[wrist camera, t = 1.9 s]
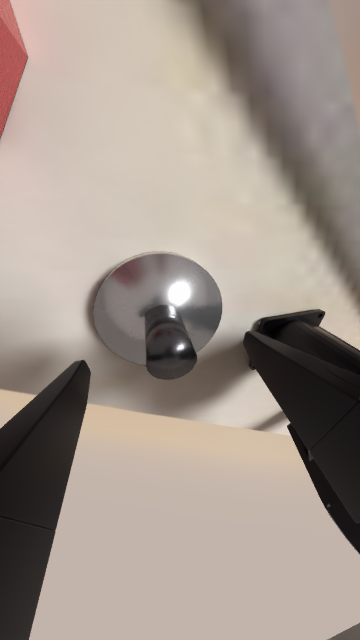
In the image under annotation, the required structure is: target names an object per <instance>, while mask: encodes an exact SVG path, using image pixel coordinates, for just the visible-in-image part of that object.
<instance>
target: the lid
mask: <svg viewBox="0 0 360 640" xmlns="http://www.w3.org/2000/svg"><path fill="white" fill-rule="evenodd" d="M221 315H222V298H221V294H220V291H219V288H218V286H217V284H216V282H215V281H214V279H213V278H212V277H211V275H210V274H209V273H208V272H207V271H206V270H205V269H204V268H202V267H201V266H200V265H199V264H197V263H196V262H194V261H193V260H191V259H190V258H187V257H185V256H183V255H180V254H176V253H172V252H164V251H155V252H147V253H143V254H139V255H136V256H133V257H131V258H129V259H127V260H125V261H124V262H122V263H121V264H119V265H118V266H117V267H116V268H115V269H113V270H112V271H111V272H110V274H109V275H108V276H107V277H106V279H105V280H104V282H103V284H102V285H101V287H100V289H99V291H98V293H97V296H96V298H95V303H94V308H93V317H94V324H95V327H96V330H97V332H98V334H99V336H100V338H101V340H102V341H103V342H104V344H105V345H106V346H107V347H108V348H109V349H110V350H111V351H112V352H114V353H115V354H116V355H118V356H120V357H121V358H123V359H125V360H128V361H130V362H133V363H137V364H142V365H146V367H147V370H148V372H149V373H150V374H151V375H152V376H154V377H156V378H159V379H165V380H169V379H175V378H179V377H181V376H183V375H185V374H187V373H188V372H189V371H190V370H191V369H192V368H193V367H194V365H195V364H196V361H197V355H196V352H198V351H199V350H200V349H202V348H203V347H204V346H205V345H206V344H207V343H208V342H209V340H210V339H211V338H212V337H213V335H214V333H215V332H216V330H217V328H218V326H219V323H220V320H221Z"/></svg>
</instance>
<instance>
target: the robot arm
mask: <svg viewBox="0 0 360 640" xmlns="http://www.w3.org/2000/svg"><path fill="white" fill-rule="evenodd" d="M324 315H325V312H324V311H322V310H320V309H317V310H311V311H305V312H299V313H293V314H287V315H281V316H275V317H268V318H264V319H263V320H262V321H261V323H260V326H259V329H258V333H257V332H255V331H247V332H246V333H245V337H244V341H243V344H244V347H245V349H246V351H247V353H248V355H249V357H250V362H249V367H250V368H251V369H252V370H255V369H256V370H257V372H258V373H259V375H260V376H261V378H262V379H263V381H264V382H265V384H266V385H267V387H268V389H269V390H270V392H271V393H272V395H273V396H274V398H275V399H276V401H277V402H278V404H279V406H280V407H281V409H282V410H283V412H284V413H285V415H286V416H287V418H288V419H289V421H290V424H289V425H287V428H288V430H289V432H290V434H291V436H292V438H293V441H294V443H295V445H296V447H297V449H298V451H299V453H300V456H301V458H302V460H303V462H304V464H305V466H306V469H307V471H308V473H309V475H310V477H311V479H312V482H313V484H314V486H315V488H316V490H317V492H318V495H319V497H320V499H321V501H322V502H323V504H324V506H325V508H326V510H327V511H328V513H329V515H330V517H331V518H332V519H333V521H334V522H335V523H336V525H337V526H338V528H339V529H340V531H341V532H342V533H343V535H344V536H345V538H346V539H347V540H348V541H349V542H350V543H351V545H352V546H353V547H354V548H355V549H356V550H357V552H358V553H359V554H360V350H358V349H356V348H355V347H353V346H351V345H350V344H348V343H346V342H345V341H343V340H341V339H340V338H338V337H336V336H335V335H333V334H331V333H330V332H328V331H326V330H325V329H323V328H321V327H320V326H319V325H320V323H321V321H322V319H323V317H324ZM90 377H91V372H90V369H89V367H88V365H87V363H86V362H85V361H84V360H80V361H75V362H74V363H73V364H71V365H70V366H69V367H68V368H67V369H66V370H65V371H64V372H63V373H62V374H60V375H59V376H58V377H57V378H56V379H55V380H54V381H53V382H52V383H50V384H49V385H48V386H47V387H46V388H45V389H44V390H43V391H42V392H40V393H39V394H38V395H37V396H36V397H35V398H34V399H33V400H32V401H30V402H29V403H28V404H27V405H26V406H25V407H24V408H23V409H22V410H20V411H19V412H18V413H17V414H16V415H15V416H14V417H13V418H12V419H11V420H9V421H8V422H7V423H6V424H5V425H4V426H3V427H2V428H1V429H0V640H29V637H30V632H31V628H32V624H33V620H34V616H35V612H36V608H37V604H38V600H39V596H40V592H41V588H42V584H43V580H44V576H45V572H46V568H47V564H48V560H49V556H50V551H51V548H52V544H53V539H54V535H55V530H56V527H57V522H58V519H59V515H60V511H61V507H62V502H63V498H64V494H65V490H66V486H67V482H68V478H69V474H70V470H71V466H72V462H73V458H74V454H75V450H76V446H77V442H78V438H79V434H80V430H81V426H82V422H83V417H84V414H85V410H86V405H87V400H88V392H89V384H90ZM328 640H360V623H359V624H357V625H355V626H353V627H351V628H349V629H347V630H345V631H343V632H341V633H339V634H338V635H336V636H334V637H332V638H330V639H328Z"/></svg>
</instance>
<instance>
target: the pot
mask: <svg viewBox="0 0 360 640" xmlns="http://www.w3.org/2000/svg"><path fill="white" fill-rule="evenodd" d="M27 58H28V56H27V53H26V50H25V46H24V43H23V40H22V37H21V34H20V31H19V28H18V25H17V22H16V19H15V16H14V13H13V10H12V6H11V3H10V0H0V138H1V135H2V132H3V129H4V126H5V123H6V120H7V117H8V114H9V111H10V108H11V105H12V102H13V99H14V96H15V93H16V90H17V87H18V85H19V82H20V79H21V76H22V73H23V70H24V67H25V64H26V61H27Z"/></svg>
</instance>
